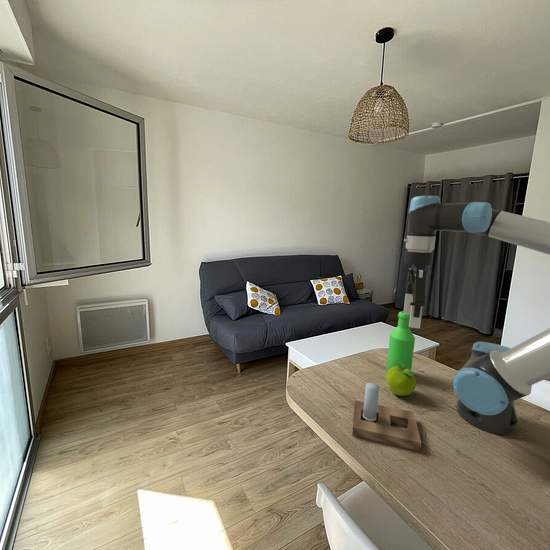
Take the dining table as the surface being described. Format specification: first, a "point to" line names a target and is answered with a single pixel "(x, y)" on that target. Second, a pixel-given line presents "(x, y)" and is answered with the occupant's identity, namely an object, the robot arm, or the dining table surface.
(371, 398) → the peg
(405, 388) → the fruit
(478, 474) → the dining table surface
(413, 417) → the board
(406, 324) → the bottle
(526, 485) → the dining table surface
